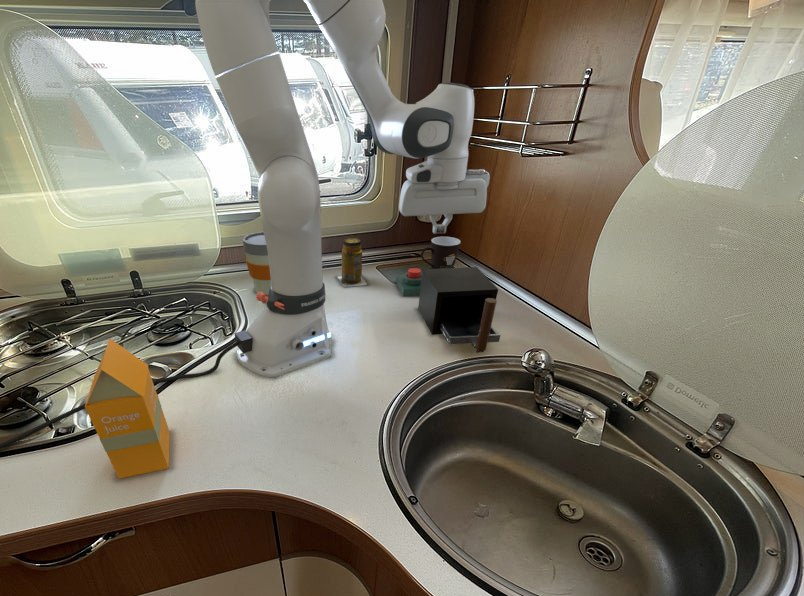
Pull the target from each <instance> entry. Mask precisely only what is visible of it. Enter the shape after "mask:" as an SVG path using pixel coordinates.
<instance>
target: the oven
mask: <svg viewBox="0 0 804 596" xmlns="http://www.w3.org/2000/svg"><path fill="white" fill-rule="evenodd" d="M421 273H422V278H421V287H420V296H419V298H418V306H417V309H418V312H419V315H420V316H421V317H422V319H423V321H424V323H425V325H426V327H427V328H428V331H429V332H430V334H431V335H432V336H440V335H441V336H442V335H443V334H442V332H441V330H440V329H439V327H438V322H439V316H440V318H441V319H452V318H472V317H478V316H479V313H483V308H484V304H485V299H487V298H493V299H496V300H497V296H498V293H499V288H498V287H497V286H496V285H495V284H494V283H493V282H492V281H491V280H490V279H489V278H488V277H487V276H486V275H485V274H484V273H483V272H482V271H481V270H480V269H479V268H478V267H477V266H469V267H468V266H466V267H454V268H444V269H431V268H424V269H422V270H421Z"/></svg>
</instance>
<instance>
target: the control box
mask: <svg viewBox="0 0 804 596" xmlns="http://www.w3.org/2000/svg"><path fill="white" fill-rule="evenodd" d="M395 277H396V278H395V284H396V285H397V287H398V289H399V292H400V294H401V296H402V297H418V296H420V287H421V278H422V272H421V276H420V278H416V279H413V278H409V277H408V271H407V272H404V273H403V274H402V275H396V276H395Z"/></svg>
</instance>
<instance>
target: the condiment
mask: <svg viewBox="0 0 804 596" xmlns="http://www.w3.org/2000/svg"><path fill="white" fill-rule="evenodd" d="M362 273H363V249H362V241H361V240H360V239H359V238H356V237H349V238H345V239H344V240H343V241H342V249H341V275H337V276H336V277H337V279H338V280H339V282H340V283H341V285H342V287H346V288H347V287H358V286H367V285H368V283H367V282H366V281H365V280H364V278H363V277H362Z"/></svg>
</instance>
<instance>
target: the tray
mask: <svg viewBox="0 0 804 596" xmlns="http://www.w3.org/2000/svg"><path fill="white" fill-rule="evenodd" d="M497 302H498V300H497V298H496V299H493V298H487V299H485V304H484V308H483V313H479V316H478V317H472V318H452V319H441V318H440V316H439V322H438V327H439V329H440V330H441V332H442V334H441V335H443V337H444V339H445V341H446V342H447V344H448V345H451V346H452V345H468V344H469V345H471V346H472V348H473V349H474V351H475V352H476V353H478V354H479V353H485V351H486V350H487V347H488V343H500V339H501V333H499V332H498V331H497V330H496V329H495V327H494V326H493V325H492V324H493V321H494V316H495V311H496V307H497Z"/></svg>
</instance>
